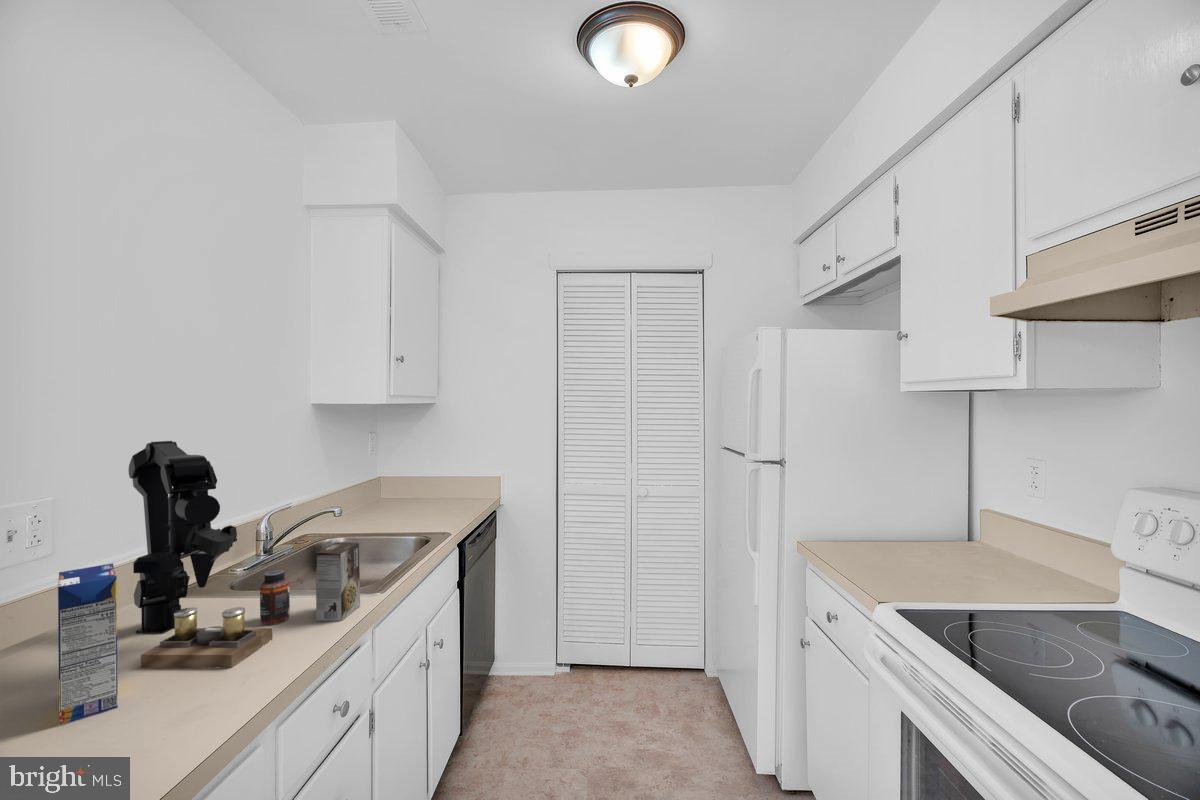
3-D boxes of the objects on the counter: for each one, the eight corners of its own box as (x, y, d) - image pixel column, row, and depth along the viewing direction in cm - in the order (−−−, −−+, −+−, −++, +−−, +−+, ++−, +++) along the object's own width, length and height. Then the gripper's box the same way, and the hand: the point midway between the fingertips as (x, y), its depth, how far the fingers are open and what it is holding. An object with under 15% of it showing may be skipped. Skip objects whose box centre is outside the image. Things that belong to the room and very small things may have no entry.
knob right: (217, 642, 105) (217, 614, 105) (231, 634, 109) (231, 607, 109) (236, 642, 105) (236, 614, 105) (249, 634, 109) (249, 607, 109)
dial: (190, 644, 105) (190, 633, 105) (207, 634, 109) (207, 624, 109) (213, 644, 105) (213, 633, 105) (229, 634, 109) (229, 624, 109)
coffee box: (335, 606, 131) (335, 541, 131) (361, 606, 131) (360, 541, 131) (314, 621, 122) (314, 552, 122) (341, 621, 122) (341, 552, 122)
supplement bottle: (295, 615, 126) (295, 568, 126) (278, 626, 120) (277, 576, 120) (272, 615, 126) (272, 568, 126) (253, 625, 120) (253, 576, 120)
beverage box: (59, 726, 83) (57, 587, 83) (59, 699, 91) (59, 572, 91) (117, 707, 88) (116, 576, 88) (113, 683, 95) (112, 563, 96)
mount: (140, 667, 101) (140, 649, 101) (190, 639, 113) (190, 623, 113) (231, 667, 101) (231, 649, 101) (272, 639, 113) (272, 623, 113)
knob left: (169, 642, 105) (168, 614, 105) (184, 634, 109) (184, 607, 109) (187, 642, 105) (187, 614, 105) (202, 634, 109) (202, 607, 109)
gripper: (188, 528, 98) (189, 612, 98) (256, 508, 117) (256, 578, 117) (130, 529, 98) (130, 612, 98) (206, 508, 117) (207, 578, 117)
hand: (187, 594), depth 107 cm, fingers open, 7 cm apart
